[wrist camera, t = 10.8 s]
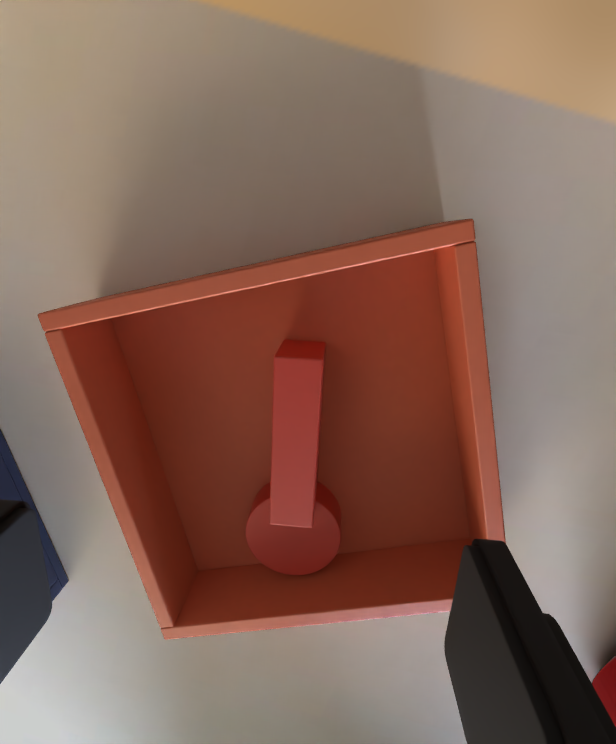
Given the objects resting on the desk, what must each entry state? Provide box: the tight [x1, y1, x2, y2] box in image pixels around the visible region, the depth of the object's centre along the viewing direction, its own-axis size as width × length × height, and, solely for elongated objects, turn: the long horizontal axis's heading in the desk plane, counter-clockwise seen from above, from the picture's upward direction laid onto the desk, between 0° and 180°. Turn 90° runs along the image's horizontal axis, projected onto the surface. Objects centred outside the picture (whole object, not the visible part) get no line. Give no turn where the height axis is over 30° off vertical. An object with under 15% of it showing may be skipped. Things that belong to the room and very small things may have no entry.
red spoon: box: [245, 339, 341, 575], centre depth 16 cm, size 10×4×2 cm, turn 177°
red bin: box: [38, 219, 506, 640], centre depth 16 cm, size 13×13×4 cm
